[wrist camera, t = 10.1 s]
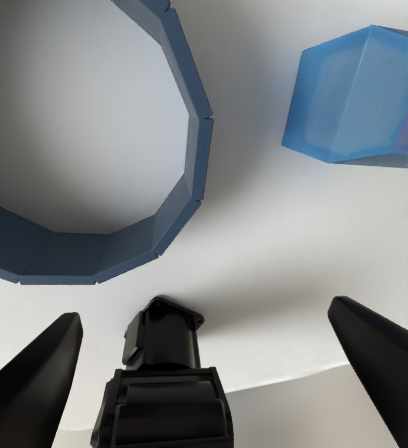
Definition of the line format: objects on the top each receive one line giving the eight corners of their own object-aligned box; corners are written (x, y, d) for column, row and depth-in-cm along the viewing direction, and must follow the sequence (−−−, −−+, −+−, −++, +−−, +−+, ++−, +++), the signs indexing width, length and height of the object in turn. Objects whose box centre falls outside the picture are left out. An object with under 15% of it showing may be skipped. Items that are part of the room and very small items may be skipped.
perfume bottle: (302, 50, 16) (561, -46, 6) (381, 62, 17) (725, 0, 7) (281, 145, 19) (427, 201, 8) (350, 150, 20) (557, 205, 9)
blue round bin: (245, 105, 17) (276, 106, 12) (124, 271, 22) (112, 319, 17) (-40, -162, 11) (-216, -385, 6) (-119, 163, 16) (-246, 190, 11)
